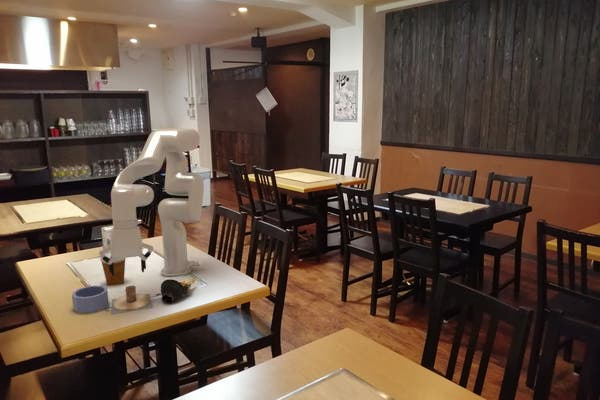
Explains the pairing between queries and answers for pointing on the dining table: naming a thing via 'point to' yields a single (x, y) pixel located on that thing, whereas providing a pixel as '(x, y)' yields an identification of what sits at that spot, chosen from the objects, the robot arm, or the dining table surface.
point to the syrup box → (106, 236)
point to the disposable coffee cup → (118, 270)
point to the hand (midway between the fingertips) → (128, 272)
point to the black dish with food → (175, 289)
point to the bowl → (90, 299)
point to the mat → (131, 310)
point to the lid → (131, 300)
